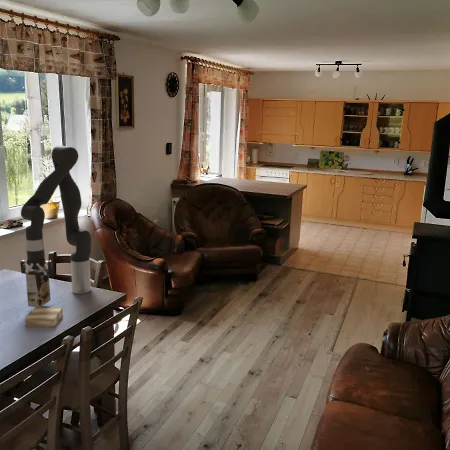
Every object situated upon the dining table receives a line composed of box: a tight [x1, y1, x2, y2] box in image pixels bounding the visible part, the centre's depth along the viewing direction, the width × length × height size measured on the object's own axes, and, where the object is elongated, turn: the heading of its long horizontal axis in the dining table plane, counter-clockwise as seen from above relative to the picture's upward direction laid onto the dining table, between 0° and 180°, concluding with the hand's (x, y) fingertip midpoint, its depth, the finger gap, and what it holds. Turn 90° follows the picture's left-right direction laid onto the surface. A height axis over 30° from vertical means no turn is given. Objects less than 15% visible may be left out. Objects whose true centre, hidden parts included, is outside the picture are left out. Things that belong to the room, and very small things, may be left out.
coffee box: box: [25, 268, 52, 308], centre depth 209 cm, size 9×6×16 cm
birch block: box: [25, 306, 64, 328], centre depth 199 cm, size 12×12×4 cm
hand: (37, 281), depth 209 cm, fingers closed on coffee box, 7 cm apart
